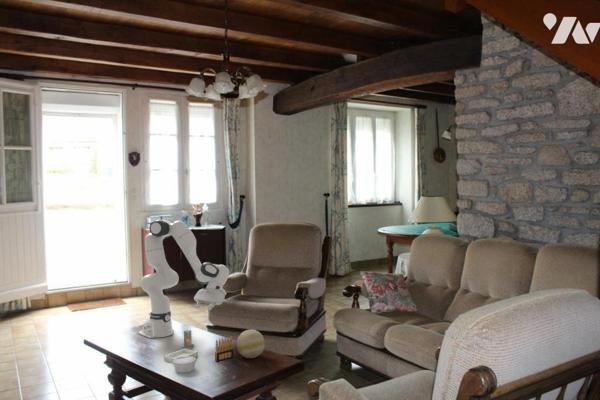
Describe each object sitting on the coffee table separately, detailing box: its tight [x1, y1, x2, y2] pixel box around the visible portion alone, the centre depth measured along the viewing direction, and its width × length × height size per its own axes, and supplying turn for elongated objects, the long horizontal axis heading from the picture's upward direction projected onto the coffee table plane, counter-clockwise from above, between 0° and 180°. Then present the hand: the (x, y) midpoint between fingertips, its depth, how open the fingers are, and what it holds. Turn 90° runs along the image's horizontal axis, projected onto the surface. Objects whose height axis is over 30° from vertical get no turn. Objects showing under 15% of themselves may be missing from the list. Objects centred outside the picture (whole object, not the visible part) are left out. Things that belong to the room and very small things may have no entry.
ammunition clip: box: [214, 335, 235, 364], centre depth 272 cm, size 11×2×12 cm, turn 130°
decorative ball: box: [236, 328, 266, 359], centre depth 275 cm, size 15×15×15 cm
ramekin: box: [172, 356, 197, 374], centre depth 259 cm, size 11×11×5 cm
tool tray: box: [163, 349, 199, 364], centre depth 276 cm, size 11×15×2 cm
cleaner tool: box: [180, 329, 195, 350], centre depth 292 cm, size 3×7×10 cm, turn 147°
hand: (202, 308), depth 302 cm, fingers open, 8 cm apart
